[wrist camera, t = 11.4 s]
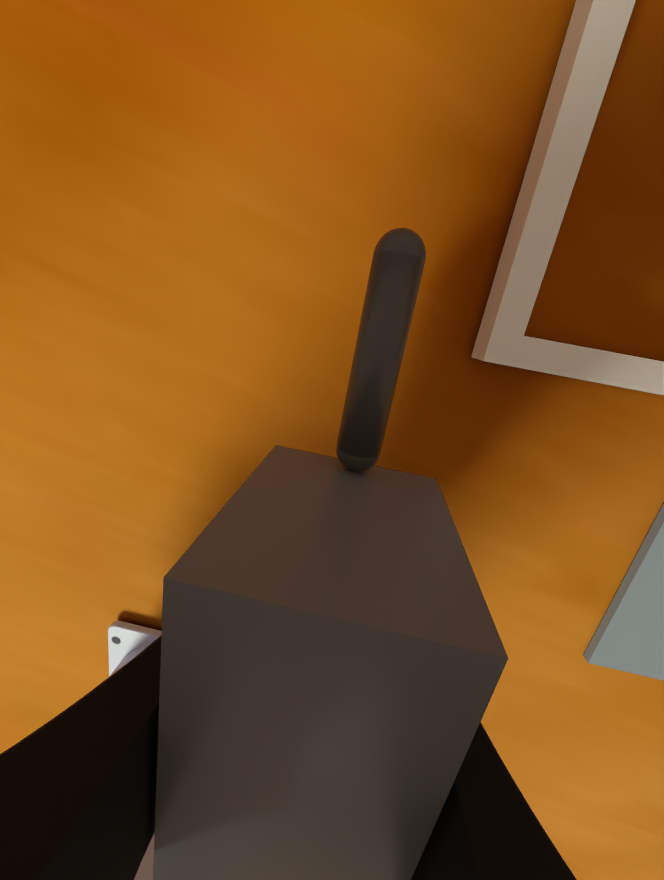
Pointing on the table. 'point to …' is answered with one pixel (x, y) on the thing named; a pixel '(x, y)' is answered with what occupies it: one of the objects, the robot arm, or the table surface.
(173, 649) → the lead plug
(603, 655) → the slate pad
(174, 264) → the table surface
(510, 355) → the white angled bracket
